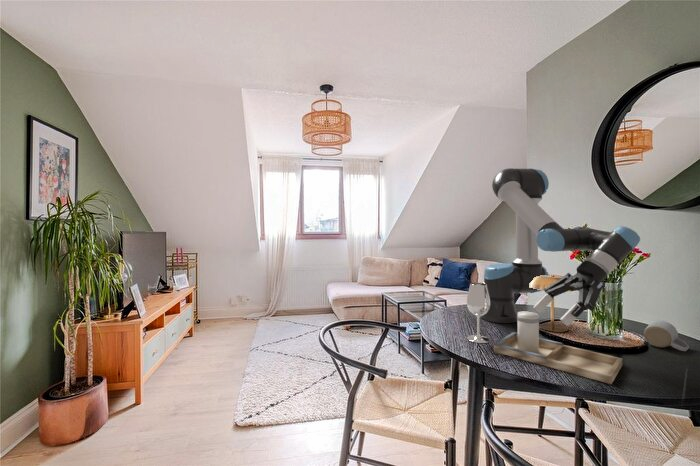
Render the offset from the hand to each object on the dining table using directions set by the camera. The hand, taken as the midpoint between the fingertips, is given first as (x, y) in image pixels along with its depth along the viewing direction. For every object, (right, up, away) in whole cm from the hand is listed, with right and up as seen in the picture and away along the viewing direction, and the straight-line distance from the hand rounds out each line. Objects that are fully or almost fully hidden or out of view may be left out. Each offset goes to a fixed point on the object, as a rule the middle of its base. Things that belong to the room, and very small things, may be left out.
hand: (549, 316), depth 105 cm
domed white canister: (-6, -11, +1) cm, 13 cm away
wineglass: (-18, -12, +13) cm, 25 cm away
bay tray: (-1, -12, -5) cm, 13 cm away
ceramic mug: (+42, -12, +5) cm, 44 cm away
